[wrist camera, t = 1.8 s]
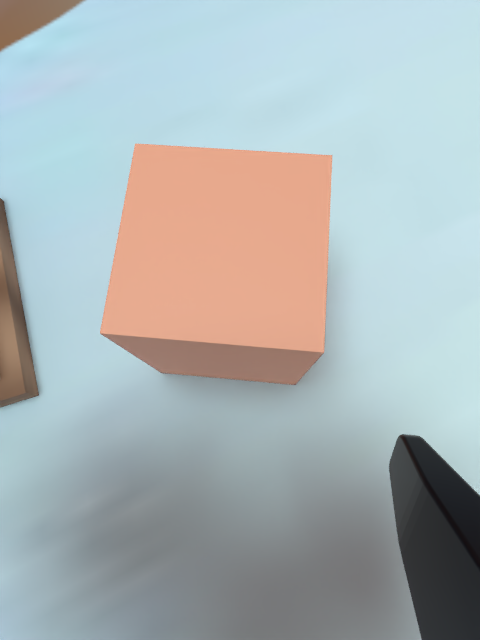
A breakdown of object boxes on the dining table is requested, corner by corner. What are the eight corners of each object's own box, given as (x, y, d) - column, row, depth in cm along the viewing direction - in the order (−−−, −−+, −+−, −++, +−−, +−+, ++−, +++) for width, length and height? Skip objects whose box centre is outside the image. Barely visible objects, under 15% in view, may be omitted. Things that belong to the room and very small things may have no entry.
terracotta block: (295, 385, 21) (323, 352, 13) (161, 372, 22) (100, 333, 13) (302, 259, 23) (331, 155, 14) (178, 250, 23) (135, 143, 15)
